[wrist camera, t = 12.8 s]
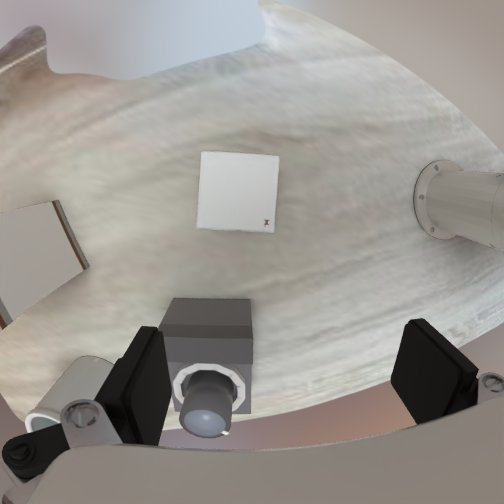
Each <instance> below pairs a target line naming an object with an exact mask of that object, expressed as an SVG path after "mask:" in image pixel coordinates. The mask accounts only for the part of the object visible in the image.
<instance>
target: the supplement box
mask: <svg viewBox="0 0 504 504" xmlns="http://www.w3.org/2000/svg"><path fill="white" fill-rule="evenodd" d="M279 159H280V157H279V156H275V155H267V154H255V153H242V152H221V151H202V152H201V163H200V175H199V186H198V198H197V213H196V228H198V229H211V230H228V231H245V232H260V233H275V223H276V209H277V193H278V175H279Z"/></svg>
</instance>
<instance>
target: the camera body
mask: <svg viewBox="0 0 504 504" xmlns="http://www.w3.org/2000/svg"><path fill="white" fill-rule="evenodd" d="M158 331H162V332H163V336H164V343H165V350H166V357H167V363H168V369H169V375H170V381H171V386H172V398H173V403H174V408H175V411H177V412H181V409H182V405H183V401H184V398H185V394H186V390H187V387H188V383H189V380H190V377H191V376H192V375H193V374H194V373H195V372H197V371H199V370H216V371H218V372H220V373H222V374H225V375H227V376H228V377H229V378H230V379H231V381H232V382H233V386H234V390H233V403H232V414H251V364H252V363H253V334H252V320H251V306H250V299H193V298H173V300H172V302H171V304H170V306H169V308H168V310H167V312H166V314H165V316H164V318H163V320H162V322H161V324H160V326H159V328H158Z"/></svg>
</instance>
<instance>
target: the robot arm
mask: <svg viewBox="0 0 504 504" xmlns="http://www.w3.org/2000/svg"><path fill="white" fill-rule="evenodd" d="M414 206H415V211H416V215H417V218H418V221H419V223H420V225H421V226H422V228H423V229H424V230H425V231H426V232H427V233H428V234H429V235H431V236H433V237H435V238H438V239H442V240H447V239H451V238H453V237H455V236H457V235H459V236H461V237H464V238H467V239H470V240H473V241H475V242H478V243H481V244H483V245H486V246H489V247H491V248H494V249H496V250H499V251H501V252H504V174H499V173H487V172H473V171H464V170H463V169H462V168H461V167H460V166H459V165H457V164H456V163H454V162H452V161H449V160H438V161H435V162H432V163H431V164H429V165H428V166H427V167H426V168H425V169H424V170H423V171H422V173H421V175H420V176H419V179H418V181H417V184H416V188H415V195H414ZM478 370H479V369H478V368H477V367H476V366H475V365H474V364H473V363H472V362H471V361H470V360H469V359H468V358H467V357H465V356H464V355H463V354H462V353H461V352H460V351H459V350H458V349H457V348H456V347H455V346H454V345H453V344H451V343H450V342H449V341H448V340H447V339H446V338H445V337H444V336H443V335H442V334H440V333H439V332H438V331H437V330H436V329H435V328H434V327H433V326H431V325H430V324H429V323H428V322H427V321H426V320H425V319H423V318H420V319H412V320H410V321H409V322H408V324H406V325H405V327H404V331H403V336H402V339H401V343H400V347H399V351H398V355H397V358H396V362H395V365H394V368H393V372H392V375H391V384H392V386H393V388H394V389H395V391H396V392H397V394H398V395H399V397H400V398H401V400H402V401H403V403H404V405H405V406H406V407H407V409H408V411H409V412H410V414H411V416H412V417H413V419H414V420H415V422H416V423H417V425H415V426H411V427H408V428H404V429H400V430H395V431H391V432H387V433H383V434H379V435H374V436H369V437H364V438H358V439H353V440H347V441H341V442H334V443H327V444H319V445H311V446H302V447H290V448H278V449H277V448H276V449H252V450H220V449H194V448H178V447H164V446H158V443H159V439H160V436H161V432H162V429H163V425H164V421H165V417H166V414H167V410H168V407H169V403H170V399H171V395H172V386H171V381H170V375H169V369H168V363H167V357H166V350H165V343H164V336H163V332H162V331H158V328H157V327H150V326H141V328H140V329H139V331H138V332H137V334H136V336H135V337H134V339H133V341H132V342H131V344H130V346H129V347H128V349H127V351H126V352H125V354H124V356H123V357H122V358H119V359H118V360H117V361H116V363H115V364H114V366H113V368H112V370H111V371H110V373H109V375H108V376H107V378H106V380H105V381H104V383H103V385H102V386H101V388H100V390H99V392H98V393H97V395H96V397H95V399H94V400H90V399H79V400H75V401H72V402H70V403H68V404H67V405H66V406H65V407H64V408H63V409H62V410H61V413H60V421H61V423H58V424H55V425H52V426H49V427H46V428H43V429H40V430H37V431H34V432H30V433H27V434H24V435H20V436H17V437H14V438H13V439H10V440H9V441H8V442H6V444H5V445H4V447H3V450H2V457H1V458H0V504H504V377H503V376H501V375H499V374H496V373H491V372H488V373H484V374H482V375H481V376H480V377H479V379H477V378H476V375H477V373H478Z"/></svg>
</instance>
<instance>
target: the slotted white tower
mask: <svg viewBox="0 0 504 504" xmlns="http://www.w3.org/2000/svg"><path fill="white" fill-rule="evenodd" d="M88 267H90V266H89V264H88V262H87V260H86V258H85V256H84V254H83V252H82V250H81V248H80V246H79V244H78V242H77V240H76V238H75V236H74V234H73V232H72V229H71V227H70V225H69V223H68V221H67V218H66V216H65V214H64V211H63V209H62V207H61V204H60V202H59V200H56V201H51V202H46V203H42V204H37V205H32V206H28V207H23V208H19V209H14V210H10V211H6V212H2V213H0V331H2V330H3V329H4V328H5V327H7V326H8V325H9V324H10V323H12V322H13V321H14V320H16V319H17V318H18V317H19V316H21V315H22V314H23V313H25V312H26V311H27V310H29V309H30V308H31V307H33V306H34V305H35V304H37V303H38V302H40V301H41V300H42V299H44V298H45V297H46V296H48V295H49V294H51V293H52V292H53V291H55V290H56V289H58V288H59V287H60V286H62V285H63V284H65V283H66V282H68V281H69V280H70V279H72V278H73V277H75V276H76V275H78V274H79V273H81V272H82V271H84V270H85V269H87V268H88Z"/></svg>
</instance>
